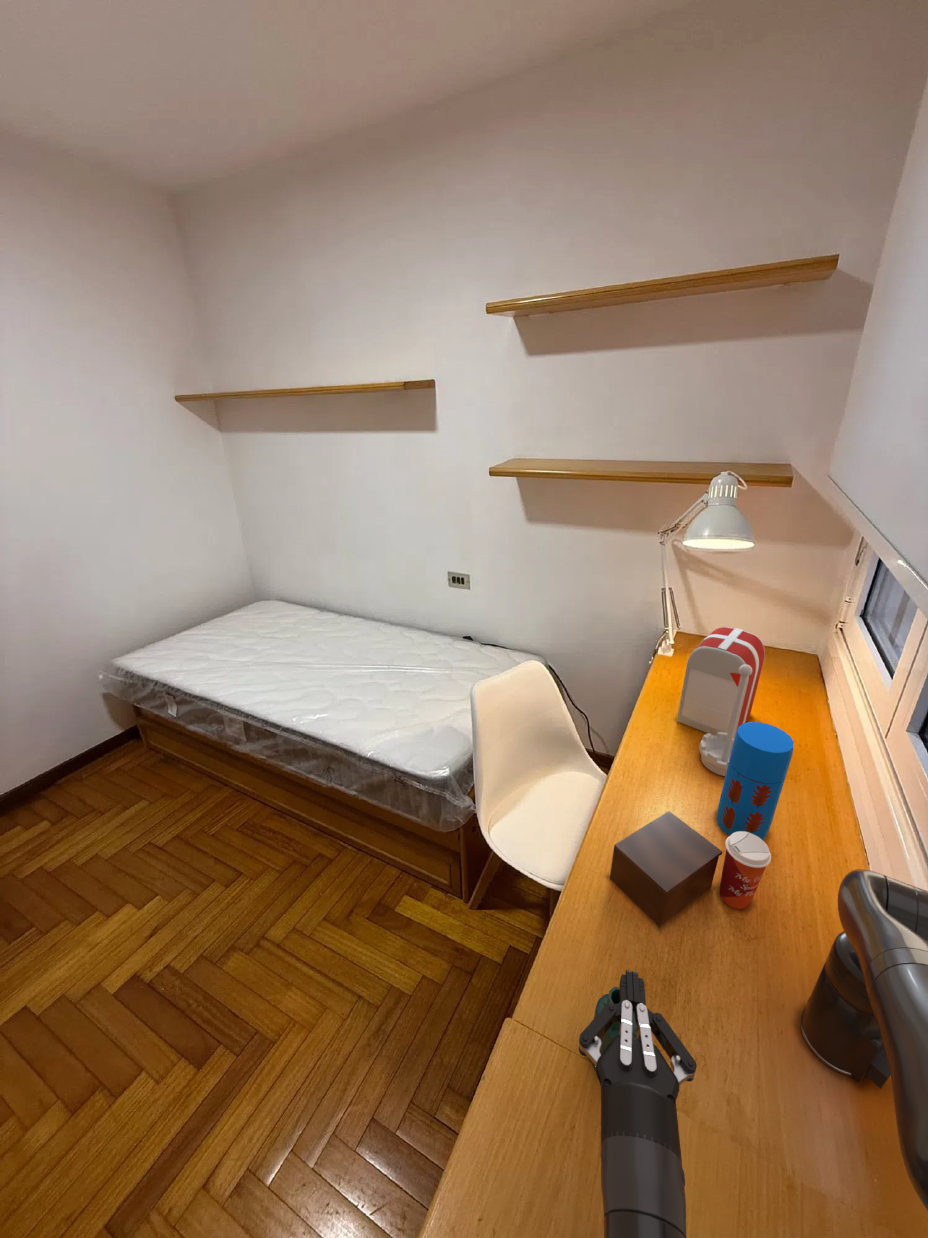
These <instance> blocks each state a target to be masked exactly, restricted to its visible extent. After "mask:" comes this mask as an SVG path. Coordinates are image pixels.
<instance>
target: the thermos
mask: <svg viewBox="0 0 928 1238" xmlns="http://www.w3.org/2000/svg"><path fill="white" fill-rule="evenodd" d="M794 742H795V741H794V740H793V738H792V737H791V736H790V734H788V733H787V732H786V731H784V730H783V729H781V728H780V727H777V726H775V725H772V724H769V723H767V722H759V721H748V722H747V721H746V723H743V724H742V725H740V726H739V727H738V729H737V732H736V735H735V739H734V743H733V747H732V751H731V755H730V759H729V764H728V768H727V772H726V776H724V781H723V784H722V789H721V792H720V797H719V800H718V805H717V812H716V816H715V817H716V818H715V819H716V823H717V826H718V827H719V828H720V829H721V831H722V832H723V833H725V834H726V835H727V836H728V837H729V836H731V834H733V833H735V832H738V831H744V832H749V833H751V834H754V835H756V836H757V837H759V838H760V839H762V840H763V841H764V840H765V839H766V838H767V836H768V834H769V831H770V828H771V826H772V823H773V819H774V817H775V813H776V811H777V806H778V803H779V800H780V797H781V793H782V790H783V787H784V784H785V780H786V777H787V774H788V771H789V767H790V764H791V760H792V758H793V753H794V745H795V743H794Z"/></svg>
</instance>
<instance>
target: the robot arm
mask: <svg viewBox="0 0 928 1238" xmlns="http://www.w3.org/2000/svg"><path fill="white" fill-rule="evenodd" d="M837 912H838V918H839V921H840V925H841V928H842V930H843V931H841V932H840V933H839V934H837V936H836V937H835V938H834V941H833V943H832V944H831V947H830V950H829V952H828V955H827V957H826V959H825V961H824V964H823V966H822V969H821V971H820V973H819V975H818V978H817V980H816V982H815V985H814V987H813V989H812V992H811V993H810V996H809V997H808V999H807V1003H806V1005H805V1007H804V1009H803V1011H802V1013H801V1015H800V1019H799V1027H800V1032H801V1035H802V1037H803V1040H804V1041H805V1043H806V1045H807V1047H808V1048H809V1049H810V1050H811V1052H812V1053H813V1054H814V1055H815V1057H817V1058H818V1060H820V1061H821V1063H823V1064H824V1065H825V1066H827V1067H828V1068H830V1069H831V1070H833V1071H835V1073H838V1074H841V1075H843V1076H846V1077H850V1078H851V1080H853V1081H854V1082H856V1083H857V1084H861V1082H862V1081H863V1080H864V1078H865V1077H867V1078H868V1079H869V1080H870V1081H871V1082H872V1083H873V1084H874V1085H876V1086H877V1088H879V1090H881V1089H883V1087H884V1086H885V1084H886V1082H887V1081H888V1080H889V1078H891V1080H890V1081H891V1086H892V1087H891V1088H892V1094H893V1103H894V1112H895V1120H896V1126H897V1127H896V1129H897V1136H898V1142H899V1147H900V1153H901V1158H902V1162H903V1165H904V1167H905V1171H906V1174H907V1176H908V1179H909V1181H910V1183H911V1186H912V1188H913V1190H914V1192H915V1193H916V1195H917V1197H918V1198H919V1200H920V1202H921V1203H922V1204H923V1206H924V1208H925V1209H926V1211H927V1212H928V890H925V889H923V888H920V887H917V886H914V885H912V884H909V883H906V882H905V881H901V880H898V879H896V878H893V877H891V876H888V875H886V874H882V873H880V872H879V873H878V872H877V871H874V870H869V869H866V868H865V869H864V868H857V869H853V870H851V871H849V872H848V873H847V874H846V875H844V877H843V878H842V880H841V882H840V884H839V887H838V891H837ZM619 987H620V1002H619V1003H618V1004H613V1003H608V1004H607V1005H606V1006H605V1007H604V1008H603V1009H602V1010H601V1012H600V1013H599V1014H598V1015H597V1016H596V1017H595V1018H594V1017H593V1020H592V1021H590V1022H589V1024H588V1025H587V1026H586V1027H585V1028H584V1030H583V1031H581V1033H580V1034H579V1037H578V1038H579V1039H578V1040H579V1041H578V1049H577V1050H578V1052H579V1054H580V1055H581V1057H582V1056H583V1057H587V1058H588V1059H589V1060H590V1062H591V1061H592V1062H593V1063H594V1064H595V1066H596V1071H595V1074H596V1077H597V1080H598V1082H599V1086H600V1186H601V1187H600V1188H601V1197H602V1198H601V1199H602V1207H603V1208H602V1209H603V1238H687V1201H686V1199H687V1198H686V1189H685V1187H686V1178H685V1170H684V1168H683V1160H682V1151H681V1139H680V1131H679V1119H678V1110H677V1098H678V1096H679V1092H680V1086H681V1085H682V1084H683V1083H685V1082H693V1080H694V1078H695V1075H696V1073H697V1072H696V1071H697V1067H698V1065H697V1062H696V1060H695V1059H694V1057H693V1056H692V1055H691V1053H690V1051H689V1050H688V1049H687V1047H686V1046H685V1045H684V1044H683V1042H682V1041H681V1039H680V1038H679V1037H678V1035H677V1034H676V1032H675V1031H674V1030H673V1028H672V1027H671V1026H670V1024H669V1023H668V1021H667V1020H666V1019H665V1017H664V1016H663V1015H662V1014H661V1013H660V1012H653V1011H651V1010H650V1009H649V1008H648V1006H647V1001H646V1000H647V999H646V989H645V988H646V987H645V981H644V978H643V977H639V972H638V971H634V970H629V969H625V973H621V975H620V977H619ZM632 1012H634V1016H635V1026H636V1035H637V1038H635V1037H633V1036H632ZM615 1022H620V1027H619V1035H618V1036H616V1037H614V1039H613V1040H612V1041H611V1042H610V1044H609V1045H608V1046H607V1048H606V1049H605V1050H604V1052H603V1053H602V1054H600V1050H601V1039H602V1038H603V1036H604V1035H605V1034H606V1033H607V1032H608V1030H609V1029H610V1028H611V1027H612V1026H613V1024H614V1023H615ZM653 1036H654V1038H655V1039H656V1040H657V1042H658V1044H659V1045H660V1046H661V1048H662V1049H663V1050H664V1052H665V1054H666V1055H667V1056H668V1058H669V1060H670V1063H668V1062H667V1060H666V1058H665V1057H664V1055H663V1054H662V1053H661V1051H660V1049H659V1047H658V1046H657V1045H656V1044H654V1041H653Z"/></svg>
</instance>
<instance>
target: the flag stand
mask: <svg viewBox="0 0 928 1238" xmlns="http://www.w3.org/2000/svg"><path fill="white" fill-rule="evenodd" d="M739 673H740V674H739ZM739 673H730V674H731V676H732V678H733V680H734V682H735V683H736V685H737V687H738V689H737V694H736V698H735V702H734V707H733V711H732V715H731V719H730V724H729V728H728V732H727V733H725V732H717V735H712V734H710V733H705V734H703V735H702V738H701V740H700V742H699V747H698V750H699V753H700V755H701V762H702V764H703V765H704V767H706V768H707V769H708V770H709V771H711V772H713V773H714V774H715V775H719V776H722V777H725V776H726V772H727V768H728V764H729V759H730V755H731V751H732V747H733V743H734V738H733V736H734V731H735V727H736V723H737V719H738V715H739V711H740V706H741V702H742V698H743V694H744V690H745V686H746V682H747V677H748V676H749V675H751V674H752V668H751V667H750V666H749V665H746V664H744V665H741V666H740V668H739Z"/></svg>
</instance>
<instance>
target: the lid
mask: <svg viewBox="0 0 928 1238" xmlns="http://www.w3.org/2000/svg"><path fill="white" fill-rule="evenodd" d="M614 848H615V849H616V850H617V851H618V852H620V853H621V854H622V855H623V856H624V857H625V858H626V859H627V860H628V861H629V862H631V863H632V864H633V865H634V866H635V867H636V868H637V869H638V870H639V871H640V872H642V873H643V874H644V875H645V876H646V877H647V878H648V879H649V880H650V881H651V882H652V883H654V884H655V885H656V886H657V887H658V888H659V889H660V890H661V891H662V892H663V893H665V894H666V895H667V894H668V893H670V892H671V891H673V890H674V889H675V888H677V887H678V886H679V885H681V884H682V883H683V882H685V881H686V880H688V879H689V878H690V877H692V876H693V875H694V874H696V873H697V872H698V871H700V870H701V869H703V868H704V867H705V866H707V865H708V864H709V863H711V862H712V861H713V860H715V859H716V858H717V857H719V858H720V856H722V855H723V850H722V849H720V848H719V847H718V846H716V845H715V844H714V843H712V842H711V841H710V840H709V839H707V838H706V837H705V836H703V835H702V834H700V833H699V832H698V831H697V830H695V829H693V828H692V827H691V826H690V825H688V824H687V823H685V822H684V821H683V820H682V819H680V818H679V817H678V816H677V815H675V814H674V813H673V812H671V811H670V810H668V811H666V812H665V813H663V814H662V815H660V816H658V817H656V818H655V819H653V820H652V821H650V822H649V823H647V824H645V825H644V826H641V828H639V829H638V830H636V831H634V832H632V833H630V834H629V835H628V836H626V837H624V838H623V839H621V840H619V841H618V842H617V843H614V845H613V849H614Z"/></svg>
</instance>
